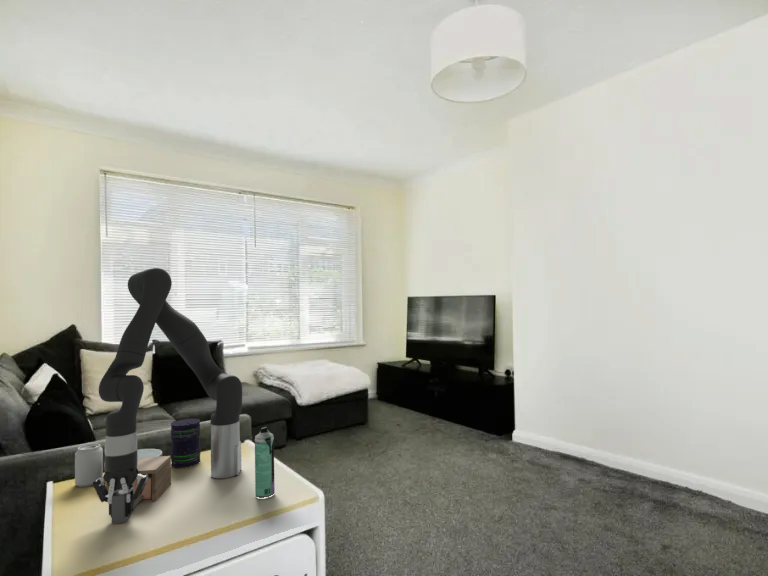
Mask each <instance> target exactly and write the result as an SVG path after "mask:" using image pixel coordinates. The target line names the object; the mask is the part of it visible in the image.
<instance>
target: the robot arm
mask: <svg viewBox="0 0 768 576" xmlns="http://www.w3.org/2000/svg"><path fill="white" fill-rule="evenodd" d="M172 283H173V282H172V278H171V276H170V274H169V273H168V272H167V270H165V269H164V268H161V267H151V268H149V269H148V268H147V269H144V270H143V271H138V272H136V273H134V274H132V275H131V276H130V277H129V278H128V281H127V289H128V292H129V294H130V295H131V297H132V298H133V300H135V302H136V303H137V304H138V305H139V306H138V308H137V310H136V312H135V314H134V315H133V317H132V319H131V320H130V322H129V323H128V325H127V326H126V328H125V329H124V332H123V333H122V336H121V339H120V342H119V345H118V347H117V351H116V354H115V357H114V359H113V360H112V362H111V364H110V365H109V366H108V368H107V370H106V372H105V373H104V375H103V376H102V377H101V380H100V382H99V385H98V396H99V398H100V399H101V400H102V401H104V402H106V403H107V402H108V403H119V402H120V403H121V407H120V408H119V409H116V410H114V411H111V412H109V413H108V414H107V415H106V417H105V441H104V449H103V453H104V463H105V469H104V474H103V477H102V478H98V479H96V480H95V481H94V482H93V485H92V486H93V488H94V490H95V492H96V494H97V496H98V499H99V501H100V502H101V503H104V502H105V503H107V504H108V516H110V518H111V519H112V496H113V495H115V493H117V492H118V491H119V490H123V494H124V495H125V500H126V503H125V516H126V517H127V516H129V515H130V514H131V515H132V513H133V512H134V511H135V507H134V501H135V500H136V499H137V498H138V497H139V496H140V495H141V494H142V492H143V490H144V487H145V485H146V483H147V481H148V478H149V475H148V474H146V475H142V474H139V471H138V469H137V450H138V433H137V416H138V411H139V408H140V404H141V401H142V398H143V395H144V394H143V393H144V389H145V385H144V383H143V380H142V378H141V377H139V376H138V375H135V374H130V375H129V374H128V373H129V372H130V371H132V370H135V369H138V368H141V367H142V365H144V361H145V357H146V355H147V350H148V347H149V343H150V339H151V337H152V333H153V331H154V328H155V325H157V327H158V328H159V329H160V330H161V331H162V333H163V334H164V335H165V336H166V338H167V340H168V341H169V342H170V344H171V345H172V347H173V348H174V349H175V351H176V352H177V353H178V354H179V356H180V357H181V358H182V359H183V360H184V362H185V363H186V364H187V366H188V367H189V369H191V370H192V371H193V373H194V374H195V375H196V377H197V379H198V381H199V383H200V384H201V386H202V387H203V389H204V391H205V392H206V395H207V396H208V397H209V398H210V399H212V400H213V401H215V402H216V403H215V406H216V407H215V411H214V413H212V414H211V415H210V476H211V477H212V478H214V479H228V478H231V477H235V475H238V476H239V474H240V472H241V471H240V470H242V441H241V440H240V436H241V435H240V416H241V413H242V410H243V385H242V382H241V379H240V378H239V377H238V376H235V375H231V374H227V373H224V371H222V369H220V367H219V365H217V364H216V362H215V360H214V358H213V357H212V354H211V350H210V345H209V342H208V340H207V338H206V337H205V334H204V333H202V331H201V329H200V328H199V327H198V325H197V324H196V323H195V322H194V321H193V320H191V319H190V318H189V317H187V316H186V315H184V314H183V313H180V312H179V311H178V310H177V309H175V308H173V306H172V305H171V304H170V303H168V301H167V298H168V296H169V293H170V291H171V289H172V285H173V284H172ZM136 478H137V480H138V481H137V483H138V487H137V489H136V491H135V493H134V484H133V482H134V481H135V480H136ZM106 484H107V485H108V487H109V488H107V486H106Z"/></svg>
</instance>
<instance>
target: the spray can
mask: <svg viewBox="0 0 768 576" xmlns="http://www.w3.org/2000/svg"><path fill="white" fill-rule="evenodd" d="M274 439H275V437H274V434H273V433H271V432H270V430H268V427H267V426H262V427H261V428H260V431H259V433H258V434H256V435H255V436H254V467H255V468H254V473H255V474H254V476H255V477H254V479H255V481H254V482H255V484H254V485H255V487H254V488H255V493H254V494H255V498H256V497H259V498H264V497H269V496H271V495H273V494H274V493H275V490H276V489H275V440H274ZM275 494H276V493H275Z"/></svg>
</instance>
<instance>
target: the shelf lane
mask: <svg viewBox="0 0 768 576" xmlns="http://www.w3.org/2000/svg"><path fill="white" fill-rule="evenodd" d="M171 463H172V462H171V455H162V456H160V457H144V458H140V459H139V460H137V469H138V471H139V474H152V498H151V501H152V502H157V501H158V499H159V498H160V497H162V495H163V494H164V492H166V490H167V489H168V488H169V487H170V486H171V484H172V467H171Z"/></svg>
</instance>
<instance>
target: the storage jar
mask: <svg viewBox="0 0 768 576" xmlns="http://www.w3.org/2000/svg"><path fill="white" fill-rule="evenodd" d="M200 436H201V419H200V418H196V417H195V418H193V417H192V418H189V417H188V418H181V419H177V420H174V421H171V422H170V440H171V450H170V456H171V466H172V467H171V468H173V467H174V468H173V469H185V468H186V467H187V468H191V467H194V466H193V465H195V466H197V465H198V463H199V462H200V463H201V446H200ZM200 463H199V464H200ZM196 464H197V465H196ZM190 466H191V467H190Z"/></svg>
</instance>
